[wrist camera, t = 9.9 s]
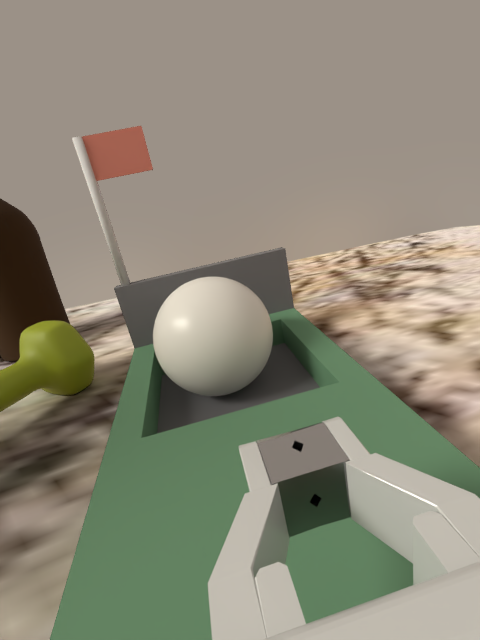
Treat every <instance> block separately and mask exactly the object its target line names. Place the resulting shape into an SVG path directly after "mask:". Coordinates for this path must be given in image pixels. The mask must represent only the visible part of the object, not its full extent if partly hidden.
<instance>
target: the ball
mask: <svg viewBox="0 0 480 640" xmlns="http://www.w3.org/2000/svg"><path fill="white" fill-rule="evenodd" d="M272 343H273V330H272V324H271V320H270V317H269V314H268V311H267V309H266V308H265V306H264V304H263V303H262V301H261V300H260V299H259V297H258V296H257V295H256V294H255V293H254V292H253V291H252V290H250V289H249V288H248V287H246V286H245V285H243V284H241V283H239V282H237V281H235V280H232V279H228V278H224V277H203V278H198V279H195V280H192V281H189V282H187V283H185V284H183V285H181V286H180V287H179V288H177V289H176V290H175V291H173V292H172V293H171V294H170V295H169V296H168V298H167V299H166V300H165V301H164V303H163V304H162V306H161V308H160V310H159V312H158V314H157V317H156V320H155V324H154V329H153V345H154V350H155V354H156V357H157V359H158V362H159V364H160V366H161V367H162V369H163V370H164V372H165V373H166V375H167V376H168V377H169V378H170V379H171V380H172V381H173V382H175V383H176V384H177V385H178V386H180V387H182V388H183V389H185V390H187V391H190V392H192V393H195V394H199V395H203V396H222V395H227V394H231V393H234V392H236V391H239V390H241V389H242V388H244V387H245V386H247V385H249V384H250V383H251V382H252V381H253V380H254V379H255V378H256V377H257V376H258V375H259V374H260V373H261V371H262V370H263V368H264V367H265V365H266V363H267V361H268V359H269V356H270V353H271V349H272Z"/></svg>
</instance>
